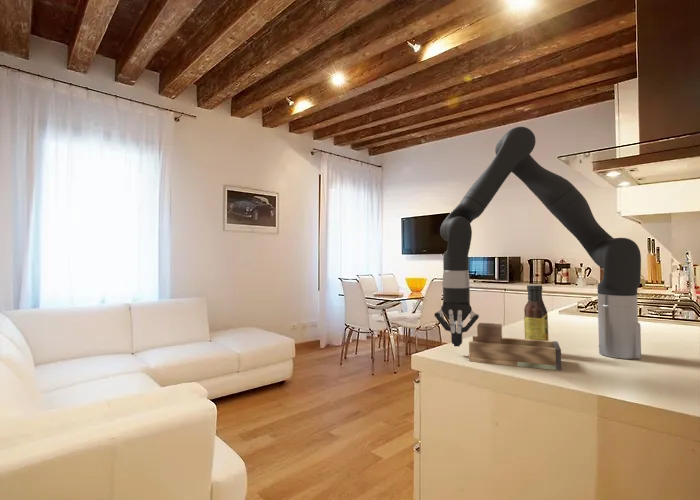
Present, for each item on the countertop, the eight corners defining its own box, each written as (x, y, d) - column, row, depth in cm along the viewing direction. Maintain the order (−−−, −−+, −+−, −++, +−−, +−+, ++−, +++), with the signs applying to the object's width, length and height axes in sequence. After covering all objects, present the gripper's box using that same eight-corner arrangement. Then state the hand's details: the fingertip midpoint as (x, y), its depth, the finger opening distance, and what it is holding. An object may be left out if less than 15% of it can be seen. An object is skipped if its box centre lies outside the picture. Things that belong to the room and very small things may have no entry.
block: (502, 352, 106) (501, 323, 106) (501, 357, 101) (500, 327, 101) (479, 350, 109) (479, 322, 109) (477, 355, 103) (477, 326, 103)
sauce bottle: (551, 356, 106) (550, 285, 106) (528, 355, 107) (526, 285, 108) (544, 350, 112) (543, 284, 113) (522, 349, 114) (521, 284, 114)
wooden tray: (557, 359, 103) (557, 341, 103) (561, 370, 93) (561, 350, 93) (473, 351, 112) (473, 334, 112) (469, 361, 102) (468, 342, 102)
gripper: (481, 285, 110) (482, 345, 109) (435, 284, 115) (436, 341, 115) (478, 287, 103) (479, 351, 102) (430, 286, 108) (431, 346, 108)
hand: (456, 345), depth 109 cm, fingers closed
